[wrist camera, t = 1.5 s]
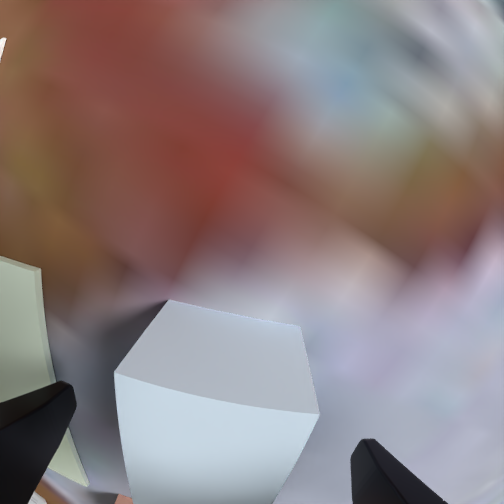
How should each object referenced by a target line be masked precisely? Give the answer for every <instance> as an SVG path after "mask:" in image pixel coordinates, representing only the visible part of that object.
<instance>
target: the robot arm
mask: <svg viewBox="0 0 504 504" xmlns="http://www.w3.org/2000/svg"><path fill="white" fill-rule="evenodd" d="M76 406H77V403H76V398H75V394H74V389H73V386H72V385H71V384H69V383H66V382H64V381H58V382H55V383H53V384H50V385H48V386H45V387H42V388H40V389H37V390H34V391H31V392H29V393H26V394H23V395H20V396H18V397H15V398H12V399H9V400H6V401H4V402H1V403H0V504H28V503H29V501H30V499H31V497H32V495H33V493H34V491H35V489H36V487H37V485H38V483H39V482H40V480H41V478H42V476H43V474H44V472H45V471H46V469H47V467H48V465H49V463H50V462H51V460H52V458H53V456H54V455H55V453H56V451H57V449H58V448H59V446H60V444H61V442H62V440H63V437H64V435H65V433H66V430H67V428H68V426H69V423H70V421H71V419H72V417H73V414H74V412H75V410H76ZM351 483H352V501H353V504H448V503H447V502H446V501H443V499H442V498H441V497H439V496H438V495H437V494H436V493H435V492H434V491H432V490H431V489H430V488H429V487H428V486H427V485H425V484H424V483H423V482H422V481H421V480H420V479H418V478H417V477H416V476H415V475H414V474H413V473H412V472H410V471H409V470H408V469H407V468H406V467H405V466H404V465H403V464H401V463H400V462H399V461H398V460H397V459H396V458H395V457H394V456H393V455H392V454H390V453H389V452H388V451H387V450H386V449H385V448H384V447H383V446H382V445H381V444H380V443H378V442H377V441H376V440H375V439H362V440H361V441H360V442H359V444H358V445H357V447H356V448H355V450H354V452H353V453H352V455H351Z"/></svg>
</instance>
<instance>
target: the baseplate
mask: <svg viewBox="0 0 504 504" xmlns="http://www.w3.org/2000/svg"><path fill="white" fill-rule="evenodd" d="M55 382H56V379H55V374H54V370H53V365H52V360H51V354H50V349H49V343H48V336H47V329H46V322H45V314H44V305H43V294H42V280H41V269H40V268H37V267H34V266H31V265H27V264H24V263H21V262H18V261H15V260H12V259H9V258H6V257H3V256H0V402H4V401H6V400H9V399H12V398H15V397H18V396H20V395H23V394H26V393H29V392H31V391H34V390H37V389H40V388H42V387H45V386H48V385H50V384H53V383H55ZM47 468H49V469H51V470H53V471H55V472H57V473H59V474H61V475H63V476H65V477H67V478H69V479H71V480H73V481H75V482H77V483H79V484H81V485H84V486H86V487H88V485H89V480H88V478H87V476H86V473H85V471H84V469H83V466H82V464H81V461H80V458H79V456H78V453H77V450H76V448H75V445H74V442H73V439H72V436H71V433H70V430H69V427H68V428H67V430H66V433H65V435H64V437H63V440H62V442H61V444H60V446H59V448H58V449H57V451H56V453H55V455H54V456H53V458H52V460H51V462H50V463H49V465H48V467H47Z"/></svg>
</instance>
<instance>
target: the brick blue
mask: <svg viewBox="0 0 504 504" xmlns="http://www.w3.org/2000/svg"><path fill="white" fill-rule="evenodd" d="M114 381H115V394H116V404H117V414H118V422H119V430H120V437H121V444H122V450H123V456H124V462H125V468H126V473H127V478H128V483H129V487H130V492H131V496H132V501H133V504H272V503H273V502H274V500H275V498H276V497H277V495H278V493H279V492H280V490H281V488H282V487H283V485H284V483H285V481H286V480H287V478H288V476H289V474H290V473H291V471H292V469H293V467H294V465H295V463H296V461H297V460H298V458H299V456H300V454H301V452H302V450H303V448H304V446H305V444H306V442H307V440H308V438H309V436H310V434H311V432H312V430H313V428H314V426H315V424H316V422H317V420H318V417H319V415H320V412H319V407H318V403H317V398H316V394H315V389H314V384H313V380H312V375H311V371H310V367H309V362H308V358H307V353H306V349H305V345H304V340H303V336H302V332H301V328H300V326H297V325H291V324H285V323H279V322H274V321H268V320H263V319H257V318H252V317H247V316H242V315H237V314H232V313H227V312H222V311H217V310H213V309H208V308H203V307H199V306H194V305H190V304H186V303H181V302H177V301H173V300H168V301H167V303H166V304H165V305H164V306H163V308H162V309H161V310H160V312H159V313H158V314H157V315H156V317H155V318H154V319H153V321H152V322H151V323H150V325H149V326H148V327H147V329H146V330H145V331H144V332H143V334H142V335H141V336H140V338H139V339H138V340H137V342H136V343H135V344H134V346H133V347H132V348H131V350H130V351H129V352H128V354H127V355H126V356H125V358H124V359H123V360H122V362H121V363H120V364H119V366H118V367H117V369H116V370H115V371H114Z"/></svg>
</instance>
